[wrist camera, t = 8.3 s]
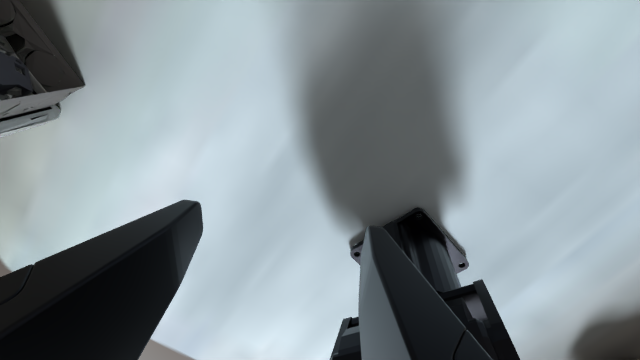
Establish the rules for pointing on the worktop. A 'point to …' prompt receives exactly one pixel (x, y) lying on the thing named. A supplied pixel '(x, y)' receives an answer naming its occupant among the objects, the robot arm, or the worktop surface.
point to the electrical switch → (30, 73)
